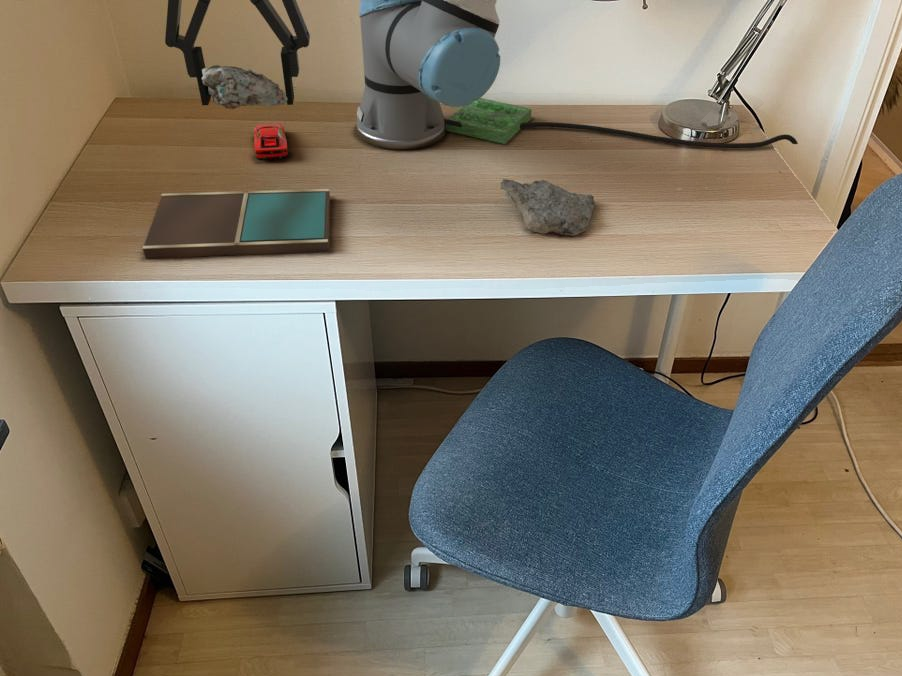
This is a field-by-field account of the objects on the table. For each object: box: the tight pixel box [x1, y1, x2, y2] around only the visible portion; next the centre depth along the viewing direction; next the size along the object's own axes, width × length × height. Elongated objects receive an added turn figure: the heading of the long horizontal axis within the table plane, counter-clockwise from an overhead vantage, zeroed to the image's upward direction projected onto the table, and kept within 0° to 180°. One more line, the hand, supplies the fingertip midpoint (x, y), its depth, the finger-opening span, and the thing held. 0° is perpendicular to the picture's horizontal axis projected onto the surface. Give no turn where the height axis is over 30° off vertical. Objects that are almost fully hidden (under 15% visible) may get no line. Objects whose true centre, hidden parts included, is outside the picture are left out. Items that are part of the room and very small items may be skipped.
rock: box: [499, 178, 596, 237], centre depth 115 cm, size 14×4×15 cm
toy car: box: [253, 123, 289, 160], centre depth 128 cm, size 12×5×3 cm, turn 14°
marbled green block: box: [445, 97, 532, 145], centre depth 138 cm, size 11×12×2 cm
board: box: [142, 188, 331, 259], centre depth 109 cm, size 24×15×2 cm, turn 97°
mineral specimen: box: [202, 64, 288, 110], centre depth 101 cm, size 10×12×6 cm
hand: (249, 101), depth 103 cm, fingers closed on mineral specimen, 10 cm apart
